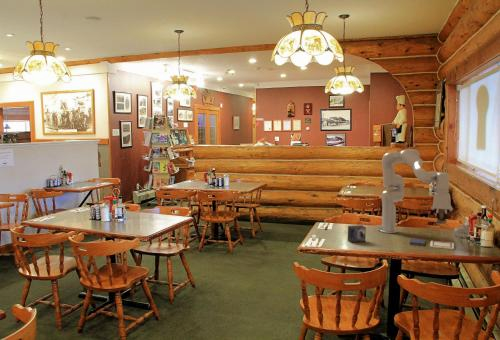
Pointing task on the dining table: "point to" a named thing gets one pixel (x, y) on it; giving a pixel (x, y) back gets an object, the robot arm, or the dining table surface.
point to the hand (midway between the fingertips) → (441, 219)
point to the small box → (356, 234)
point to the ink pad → (417, 242)
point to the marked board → (442, 245)
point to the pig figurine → (462, 230)
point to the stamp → (441, 217)
